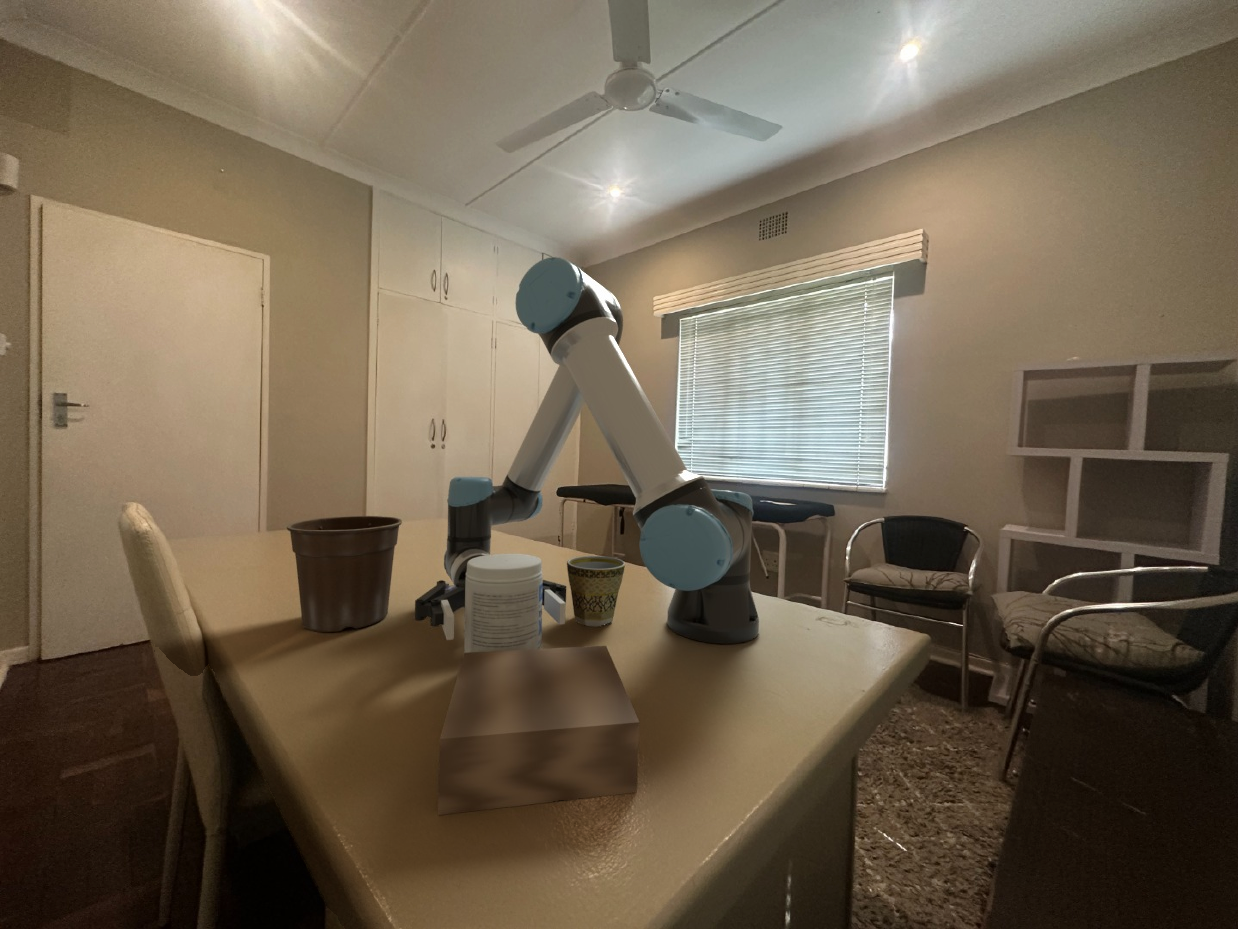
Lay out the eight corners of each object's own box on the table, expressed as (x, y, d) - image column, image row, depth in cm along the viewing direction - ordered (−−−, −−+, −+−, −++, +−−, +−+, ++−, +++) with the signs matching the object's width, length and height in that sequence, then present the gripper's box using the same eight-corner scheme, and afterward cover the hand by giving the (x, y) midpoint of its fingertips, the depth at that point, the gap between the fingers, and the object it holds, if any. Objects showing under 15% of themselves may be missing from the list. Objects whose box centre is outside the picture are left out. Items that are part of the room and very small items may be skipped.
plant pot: (257, 635, 69) (259, 527, 69) (329, 602, 86) (331, 513, 85) (364, 641, 69) (366, 531, 68) (416, 606, 85) (419, 517, 85)
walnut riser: (604, 696, 56) (606, 645, 55) (636, 792, 40) (639, 722, 40) (462, 706, 52) (464, 652, 52) (437, 815, 37) (439, 739, 36)
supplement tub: (555, 677, 60) (559, 562, 59) (487, 703, 53) (491, 573, 53) (514, 652, 67) (517, 549, 66) (449, 672, 60) (452, 558, 60)
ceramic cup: (622, 631, 76) (624, 570, 76) (561, 629, 76) (563, 567, 76) (623, 606, 89) (625, 553, 89) (570, 604, 89) (572, 551, 89)
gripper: (551, 592, 82) (602, 636, 63) (391, 609, 70) (395, 669, 52) (552, 549, 82) (603, 580, 63) (393, 559, 70) (396, 601, 51)
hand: (509, 620), depth 57 cm, fingers open, 13 cm apart
